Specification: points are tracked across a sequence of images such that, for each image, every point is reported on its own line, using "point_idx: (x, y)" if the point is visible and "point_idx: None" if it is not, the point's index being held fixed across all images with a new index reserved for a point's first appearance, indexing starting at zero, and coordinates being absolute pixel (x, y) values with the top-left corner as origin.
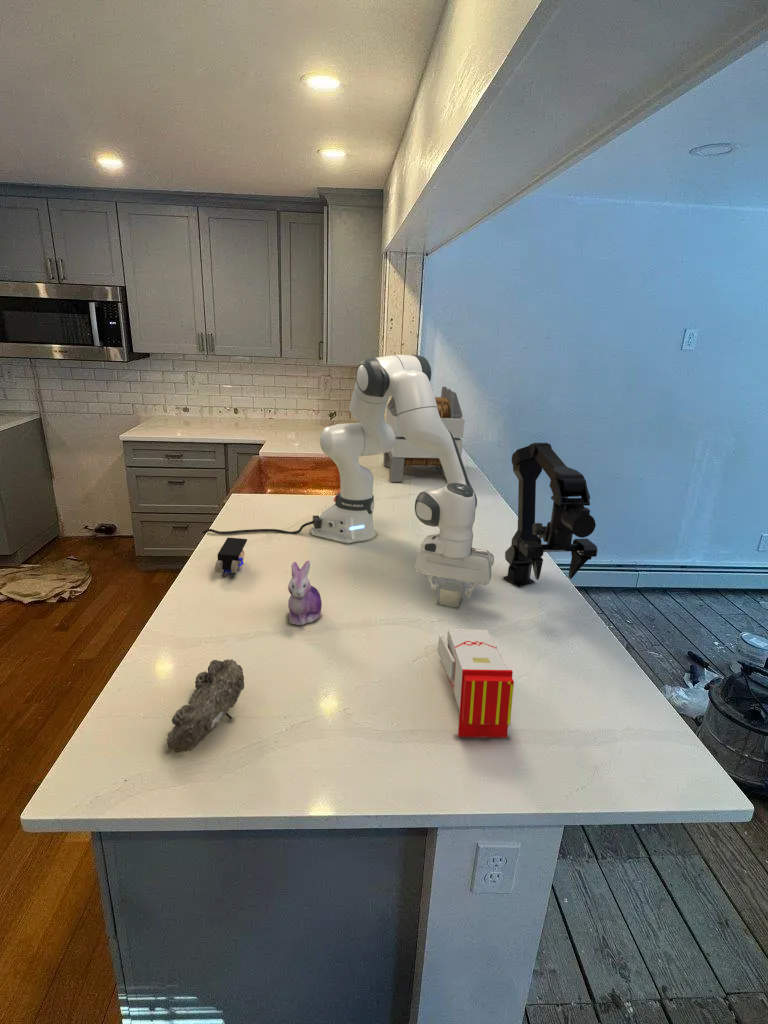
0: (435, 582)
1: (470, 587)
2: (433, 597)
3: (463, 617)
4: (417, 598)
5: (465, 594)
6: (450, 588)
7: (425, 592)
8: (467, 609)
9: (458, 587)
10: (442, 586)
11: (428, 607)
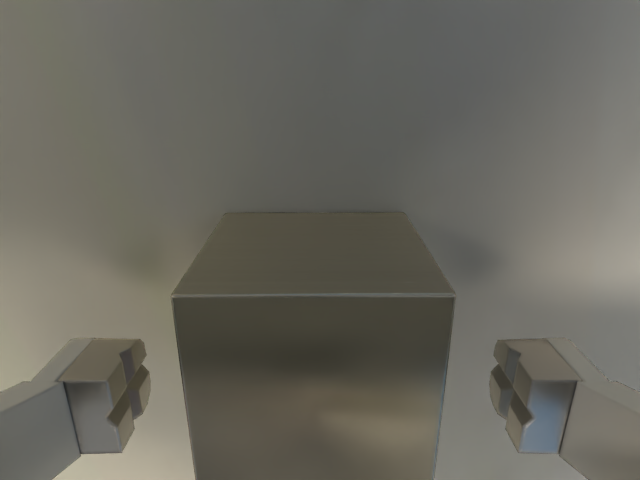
0: (77, 395)
1: (596, 411)
2: (150, 271)
3: (462, 463)
4: (32, 341)
5: (499, 413)
6: (319, 472)
7: (37, 207)
8: (483, 352)
9: (416, 418)
10: (208, 463)
11: (178, 432)
